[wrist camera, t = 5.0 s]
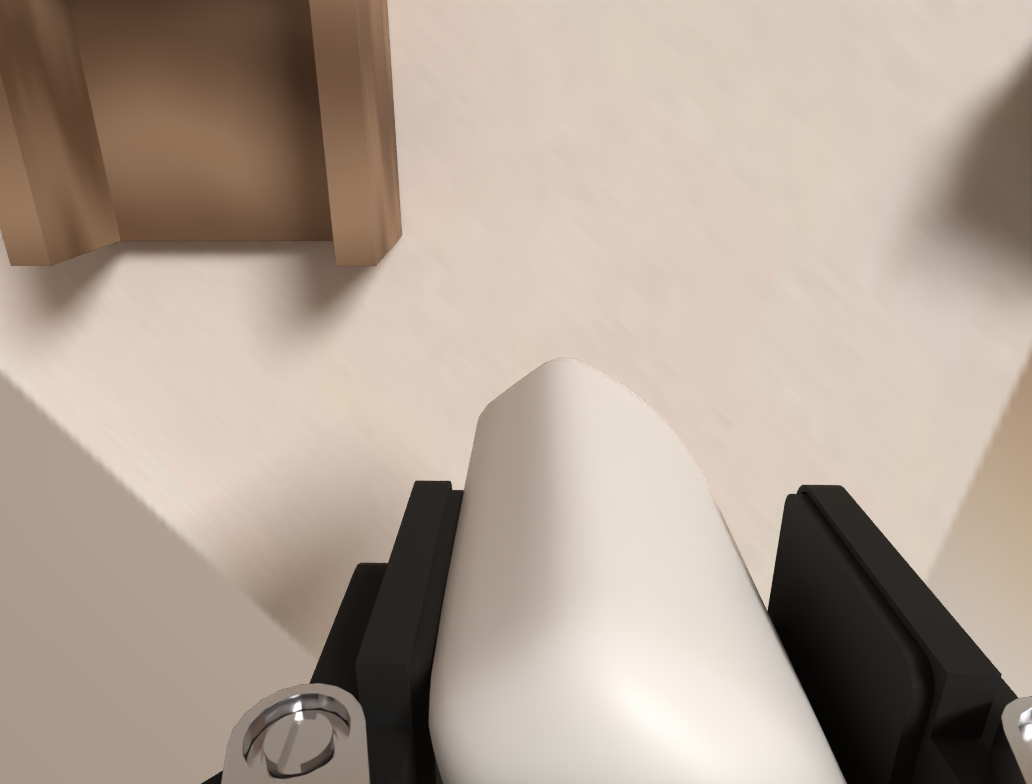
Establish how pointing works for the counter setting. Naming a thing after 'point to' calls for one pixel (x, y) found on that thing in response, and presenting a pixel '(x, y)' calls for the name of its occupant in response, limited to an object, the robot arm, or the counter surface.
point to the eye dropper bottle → (605, 610)
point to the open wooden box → (196, 125)
